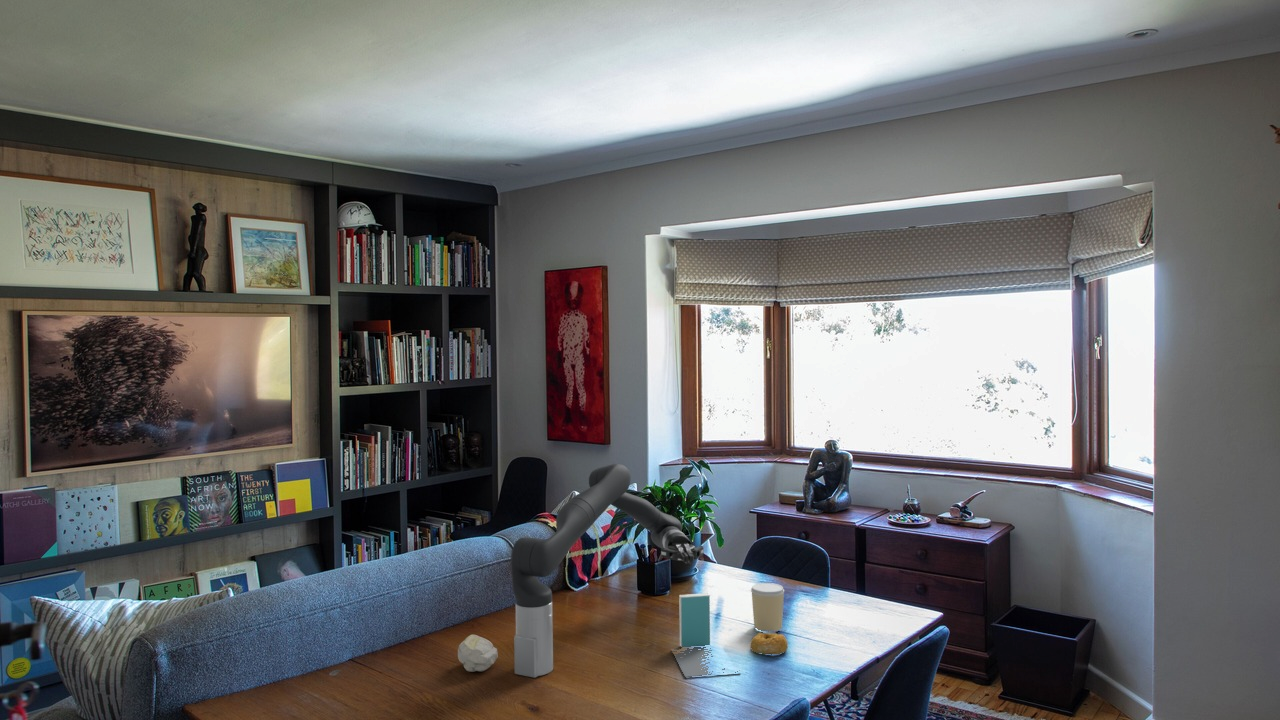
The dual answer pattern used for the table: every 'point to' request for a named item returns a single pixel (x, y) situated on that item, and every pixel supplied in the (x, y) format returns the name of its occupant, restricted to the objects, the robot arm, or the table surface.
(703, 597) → the tile
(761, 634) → the bagel
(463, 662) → the white rock
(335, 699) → the table surface
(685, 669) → the mat
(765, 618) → the coffee cup
